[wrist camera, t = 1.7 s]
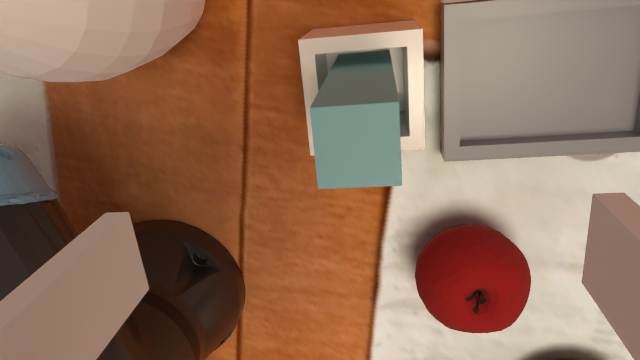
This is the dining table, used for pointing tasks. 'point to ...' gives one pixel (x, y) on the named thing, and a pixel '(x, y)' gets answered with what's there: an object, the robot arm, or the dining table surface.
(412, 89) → the white open box
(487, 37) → the tray
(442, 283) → the apple
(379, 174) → the peg
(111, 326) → the robot arm
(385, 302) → the dining table surface
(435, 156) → the dining table surface
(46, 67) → the bottle
